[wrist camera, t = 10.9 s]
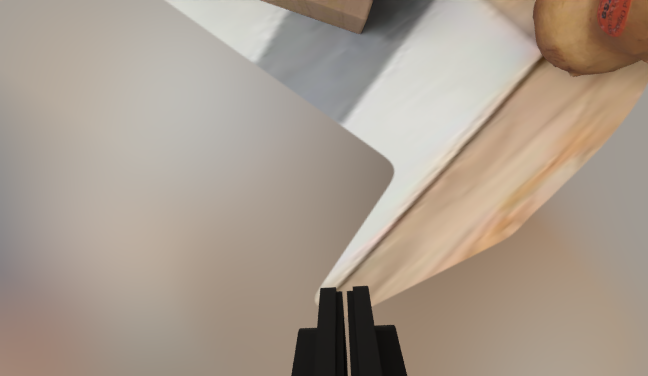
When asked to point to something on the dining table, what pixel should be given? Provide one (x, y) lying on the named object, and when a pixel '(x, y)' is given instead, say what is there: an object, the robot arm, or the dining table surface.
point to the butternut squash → (592, 34)
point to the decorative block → (331, 11)
